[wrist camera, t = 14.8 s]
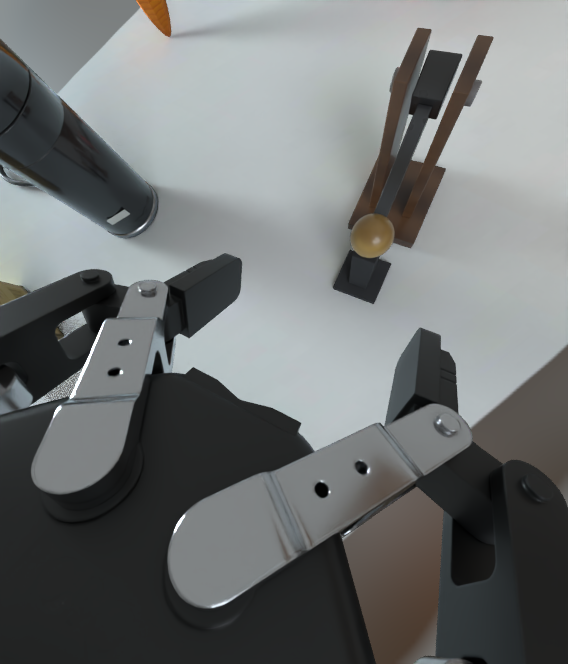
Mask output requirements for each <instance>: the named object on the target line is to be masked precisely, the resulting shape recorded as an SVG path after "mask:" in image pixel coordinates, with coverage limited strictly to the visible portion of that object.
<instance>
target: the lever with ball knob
mask: <svg viewBox="0 0 568 664" xmlns="http://www.w3.org/2000/svg"><path fill="white" fill-rule="evenodd" d="M461 58H462V54H458V53H450V52H443V51H436V50H430V51H429V53H428V56H427V58H426V61H425V63H424V66H423V68H422V71H421V73H420V76H419V79H418V81H417V84H416V86H415V89H414V91H413V94H412V98H411V103H410V109H409V114H411V115H413V117H412V119H411V122H410V124H409V127H408V129H407V132H406V134H405V137H404V139H403V142H402V144H401V147H400V149H399V152H398V154H397V157H396V159H395V162H394V164H393V166H392V169H391V171H390V174H389V176H388V179H387V181H386V184H385V186H384V189H383V191H382V194H381V196H380V199H379V201H378V204H377V206H376V209H375V211H374V213H373V214H368V215H365V216H363V217H362V218H360V219H359V220H358V221H357V222H356V223H355V225H354V226H353V228H352V231H351V235H350V241H351V245H352V248H353V249H354V251H355V252H356V253H357V254H358V255H360V256H362V257H365V258H375V257H378V256H381V255H382V254H384V253H385V252H386V251H387V250H388V249H389V248H390V247H391V245H392V243H393V240H394V227H393V224H392V222H391V221H390V220H389V219H388V218H387V216H388V214H389V212H390V209H391V207H392V205H393V202H394V200H395V197H396V195H397V193H398V190H399V188H400V185H401V183H402V181H403V178H404V176H405V173H406V171H407V169H408V166H409V164H410V161H411V159H412V157H413V154H414V152H415V149H416V147H417V145H418V142H419V140H420V138H421V135H422V133H423V130H424V128H425V126H426V123H427V121H428V118H431V119H437V117H438V114H439V112H440V110H441V107H442V105H443V103H444V100H445V98H446V95H447V93H448V91H449V88H450V86H451V84H452V81H453V79H454V76H455V74H456V71H457V69H458V66H459V63H460V61H461Z"/></svg>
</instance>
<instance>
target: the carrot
mask: <svg viewBox="0 0 568 664" xmlns="http://www.w3.org/2000/svg"><path fill="white" fill-rule="evenodd" d="M136 1H137V3H138V4H139V5H140V7H141V8H142V10H143V11H144V12H145V14H146V15H147V16H148V18H149V19H150V20H151V21H152V23H153V24H154V25H155V26H156V27H157V28H158V29H159V30H160V31H161V32H162V33H163V34H165V35H166V36H168V37H170V36H171V25H170V17H169V12H168V7H167V4H166V0H136Z"/></svg>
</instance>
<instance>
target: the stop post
mask: <svg viewBox="0 0 568 664" xmlns="http://www.w3.org/2000/svg"><path fill="white" fill-rule="evenodd" d="M390 266H391V263H388V262H385V261H382V260H379V256H378V257H375V258H365V257H362V256H360V255H358V254H357V253H356V252H355V251H352V250H350V251H349V253H348V255H347V257H346V260H345V262H344V264H343V266H342V269H341V271H340V273H339V275H338V278H337V280H336V282H335V284H334V287H333V289H335V290H338V291H340V292H343V293H346V294H348V295H351V296H354V297H356V298H359V299H362V300H364V301H367V302H370V303H372V304H374V302H375V300H376V298H377V295H378V293H379V291H380V289H381V286H382V284H383V282H384V279H385V277H386V275H387V272H388V270H389V268H390Z"/></svg>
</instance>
